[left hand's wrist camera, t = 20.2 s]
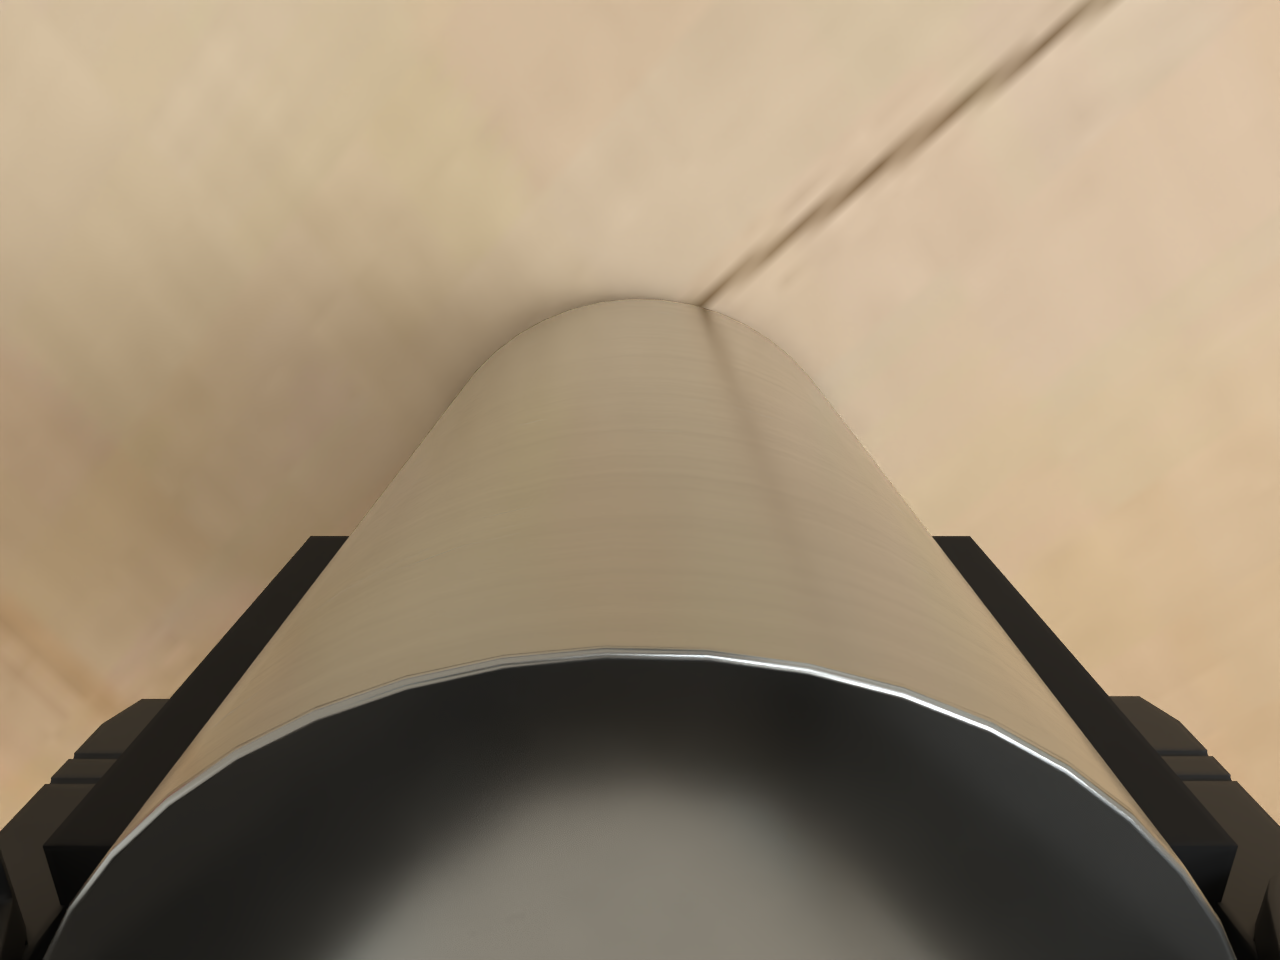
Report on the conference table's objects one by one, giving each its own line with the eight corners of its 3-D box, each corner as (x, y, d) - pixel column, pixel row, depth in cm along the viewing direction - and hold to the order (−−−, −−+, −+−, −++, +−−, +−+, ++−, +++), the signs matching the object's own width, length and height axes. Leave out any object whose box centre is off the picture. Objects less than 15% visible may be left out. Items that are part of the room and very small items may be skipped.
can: (378, 341, 17) (-233, 775, 5) (828, 260, 16) (1324, 531, 5) (485, 715, 20) (258, 1535, 8) (868, 657, 19) (1226, 1443, 8)
